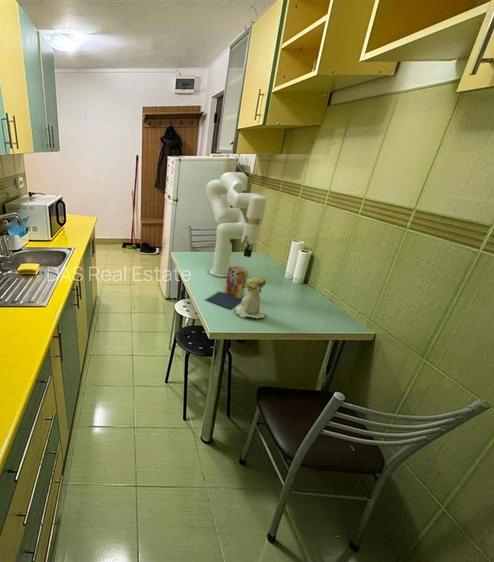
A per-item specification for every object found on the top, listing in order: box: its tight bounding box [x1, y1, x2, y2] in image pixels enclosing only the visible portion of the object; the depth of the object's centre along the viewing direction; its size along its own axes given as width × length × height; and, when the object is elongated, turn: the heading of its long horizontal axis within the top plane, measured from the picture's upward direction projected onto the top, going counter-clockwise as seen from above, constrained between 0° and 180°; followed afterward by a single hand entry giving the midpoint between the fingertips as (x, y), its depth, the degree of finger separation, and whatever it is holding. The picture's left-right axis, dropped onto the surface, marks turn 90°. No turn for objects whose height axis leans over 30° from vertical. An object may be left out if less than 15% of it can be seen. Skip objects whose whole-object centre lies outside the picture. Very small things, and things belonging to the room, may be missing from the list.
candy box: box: [223, 264, 249, 299], centre depth 158 cm, size 9×4×15 cm, turn 39°
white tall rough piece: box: [235, 276, 267, 319], centre depth 138 cm, size 12×13×18 cm
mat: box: [206, 291, 243, 310], centre depth 154 cm, size 14×13×1 cm
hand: (247, 256), depth 157 cm, fingers closed
